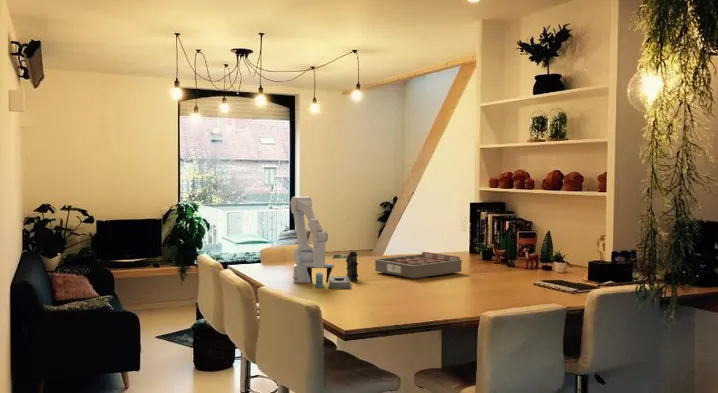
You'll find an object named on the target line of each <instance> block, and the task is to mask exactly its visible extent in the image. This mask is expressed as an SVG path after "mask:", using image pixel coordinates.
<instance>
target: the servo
mask: <svg viewBox="0 0 718 393" xmlns="http://www.w3.org/2000/svg"><path fill="white" fill-rule="evenodd" d="M323 276H324V273H323V272H315V288H323V286H324V282H323V280H324V277H323Z"/></svg>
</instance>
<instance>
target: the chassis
mask: <svg viewBox="0 0 718 393" xmlns="http://www.w3.org/2000/svg"><path fill="white" fill-rule="evenodd" d="M328 286H329V289H332V290H333V289H335V290H336V289H339V290H340V289H342V290H343V289H351V281H350V280H349V277H348V276H347V275H346V276H345V275H344V276H339V275H338V276H337V275H336V276H331V275H329V279H328Z"/></svg>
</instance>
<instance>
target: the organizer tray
mask: <svg viewBox="0 0 718 393" xmlns="http://www.w3.org/2000/svg"><path fill="white" fill-rule="evenodd" d="M373 261H374V262H375V266H374V267H375V268H374V269H375V270H374V271H375V272H377V273H378V272H379V273H384V274H389V275H396V276H401V277H405V278H411V279H416V278H424V277H434V276H439V275H445V274H453V273H461V272H462V261H464V260H463V259H461V256H457V255H449V254H444V253H437V252H436V253H435V252H428V251H422V252H421V254H415V255H414V254H413V255H403V256H393V257H385V258H375V259H373Z"/></svg>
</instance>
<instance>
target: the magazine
mask: <svg viewBox="0 0 718 393" xmlns="http://www.w3.org/2000/svg"><path fill="white" fill-rule="evenodd" d="M357 256H358V253H357V251H350V252H349V254H348V255H347V256H346V260H345V262H346V266H347V267H345V268H346V271H347V273H346V276H348V277H349V280H350V282H358V277H359V274H358V265H359V263H358V260H357V258H358V257H357Z"/></svg>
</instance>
